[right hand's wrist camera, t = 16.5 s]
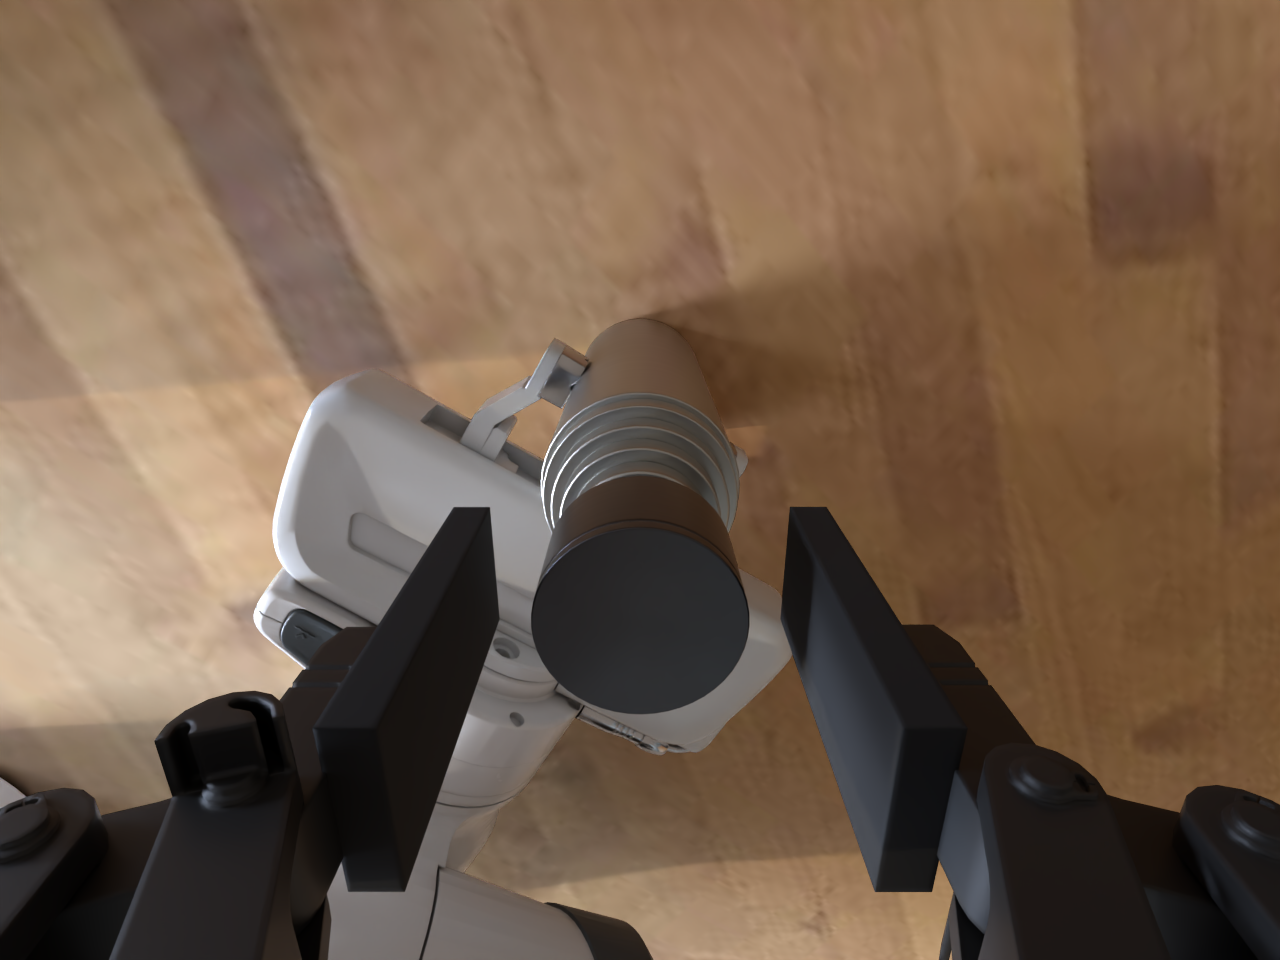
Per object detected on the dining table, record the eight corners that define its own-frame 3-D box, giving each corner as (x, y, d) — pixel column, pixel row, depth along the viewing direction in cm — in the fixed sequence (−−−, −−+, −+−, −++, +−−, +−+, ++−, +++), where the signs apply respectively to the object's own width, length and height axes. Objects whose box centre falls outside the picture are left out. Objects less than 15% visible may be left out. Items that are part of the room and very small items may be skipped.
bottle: (556, 372, 31) (435, 597, 13) (647, 292, 30) (659, 415, 11) (633, 458, 32) (625, 769, 14) (723, 385, 31) (841, 625, 13)
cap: (657, 667, 16) (660, 748, 13) (512, 576, 15) (488, 645, 12) (770, 543, 15) (795, 608, 12) (620, 437, 14) (616, 484, 11)
